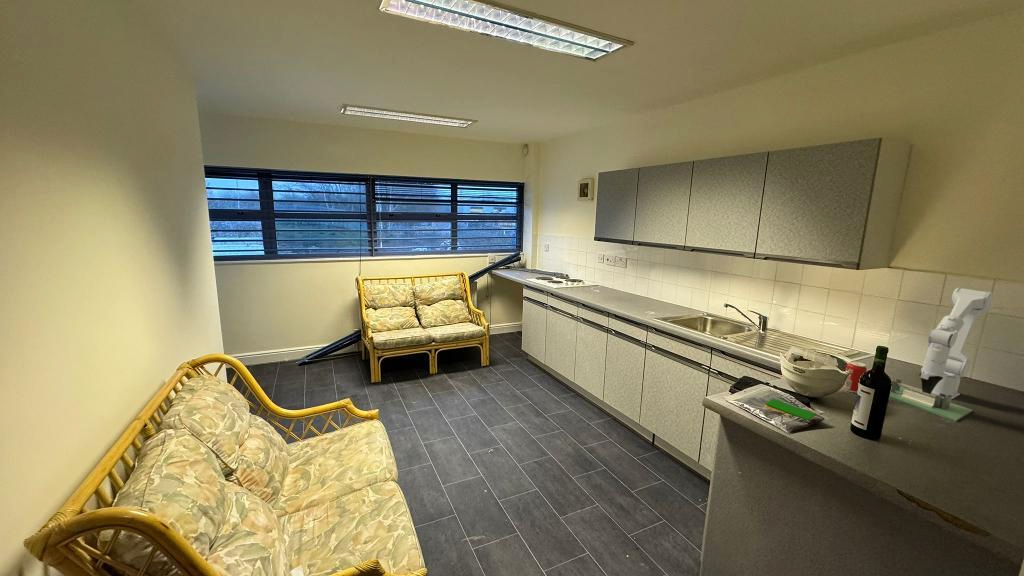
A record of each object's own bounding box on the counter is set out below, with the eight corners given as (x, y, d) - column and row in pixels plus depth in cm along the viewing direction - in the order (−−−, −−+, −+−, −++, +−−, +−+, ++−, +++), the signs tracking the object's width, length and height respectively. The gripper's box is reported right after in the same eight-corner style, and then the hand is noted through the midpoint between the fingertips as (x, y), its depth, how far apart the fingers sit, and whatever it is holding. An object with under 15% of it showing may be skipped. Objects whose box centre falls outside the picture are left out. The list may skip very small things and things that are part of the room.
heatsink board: (890, 385, 171) (893, 372, 170) (971, 411, 151) (975, 398, 149) (872, 392, 164) (876, 380, 163) (955, 421, 143) (959, 407, 142)
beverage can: (865, 394, 162) (871, 367, 160) (849, 393, 163) (856, 366, 160) (852, 387, 169) (858, 360, 166) (837, 386, 169) (843, 360, 166)
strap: (896, 383, 164) (896, 381, 164) (945, 398, 152) (945, 396, 152) (893, 384, 163) (893, 382, 163) (942, 400, 151) (943, 398, 150)
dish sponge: (807, 426, 139) (809, 419, 138) (764, 409, 150) (765, 403, 149) (814, 419, 143) (815, 413, 143) (771, 403, 154) (772, 398, 153)
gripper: (943, 367, 146) (933, 400, 149) (957, 360, 152) (947, 393, 155) (917, 360, 152) (908, 392, 155) (932, 354, 158) (923, 385, 161)
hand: (926, 392), depth 155 cm, fingers closed, pressing on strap
